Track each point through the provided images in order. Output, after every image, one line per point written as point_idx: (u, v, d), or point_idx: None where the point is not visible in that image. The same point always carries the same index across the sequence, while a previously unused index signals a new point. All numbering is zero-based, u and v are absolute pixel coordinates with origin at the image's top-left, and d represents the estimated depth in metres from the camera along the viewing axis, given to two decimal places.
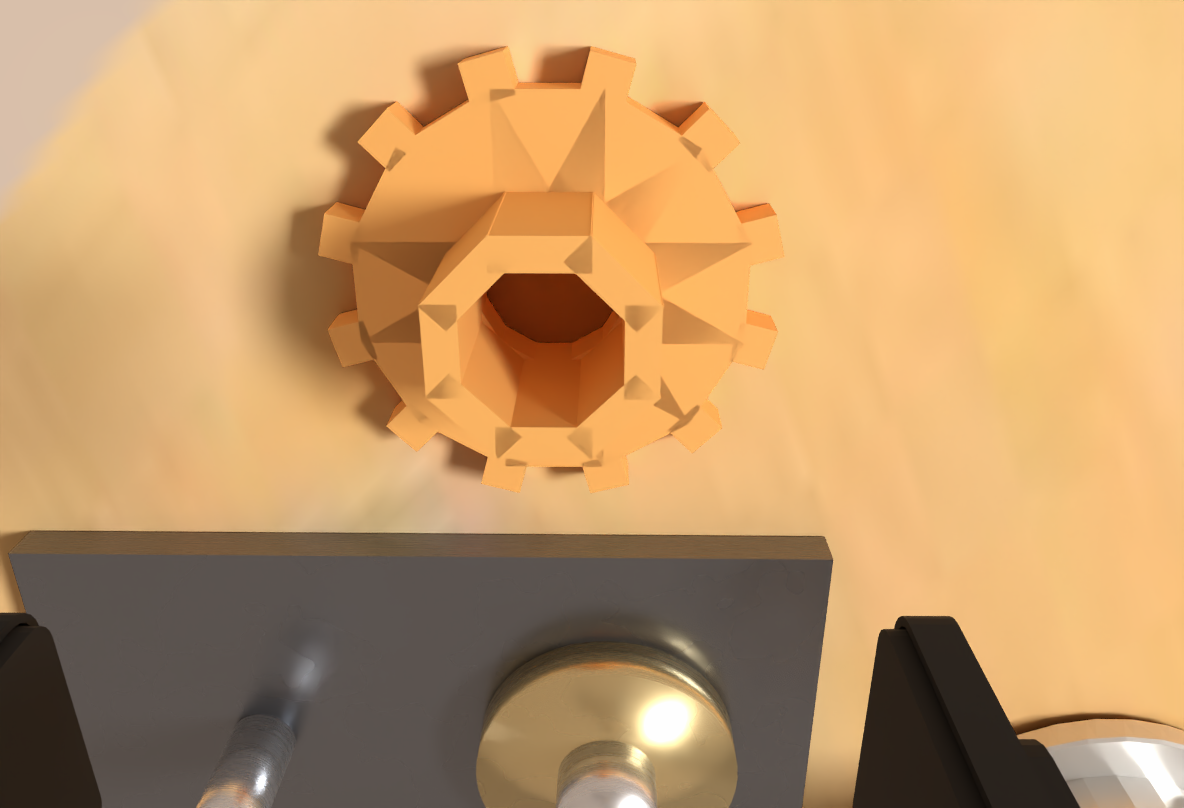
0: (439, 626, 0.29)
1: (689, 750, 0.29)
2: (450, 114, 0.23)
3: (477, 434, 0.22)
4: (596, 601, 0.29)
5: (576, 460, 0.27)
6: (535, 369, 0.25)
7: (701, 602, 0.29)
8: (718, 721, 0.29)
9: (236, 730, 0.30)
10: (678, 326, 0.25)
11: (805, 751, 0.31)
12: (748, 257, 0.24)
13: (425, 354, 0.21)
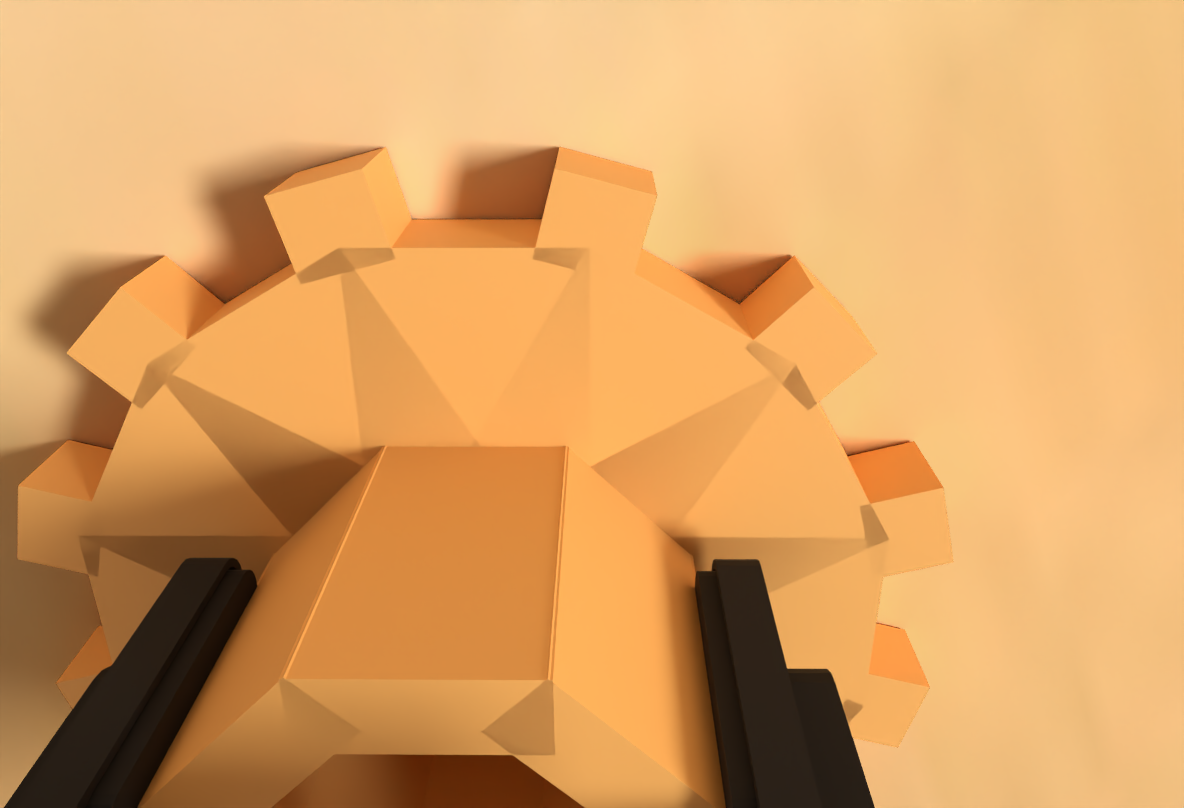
0: None
1: None
2: (257, 298, 0.11)
3: None
4: None
5: None
6: (457, 768, 0.13)
7: None
8: None
9: None
10: None
11: None
12: (880, 562, 0.12)
13: None
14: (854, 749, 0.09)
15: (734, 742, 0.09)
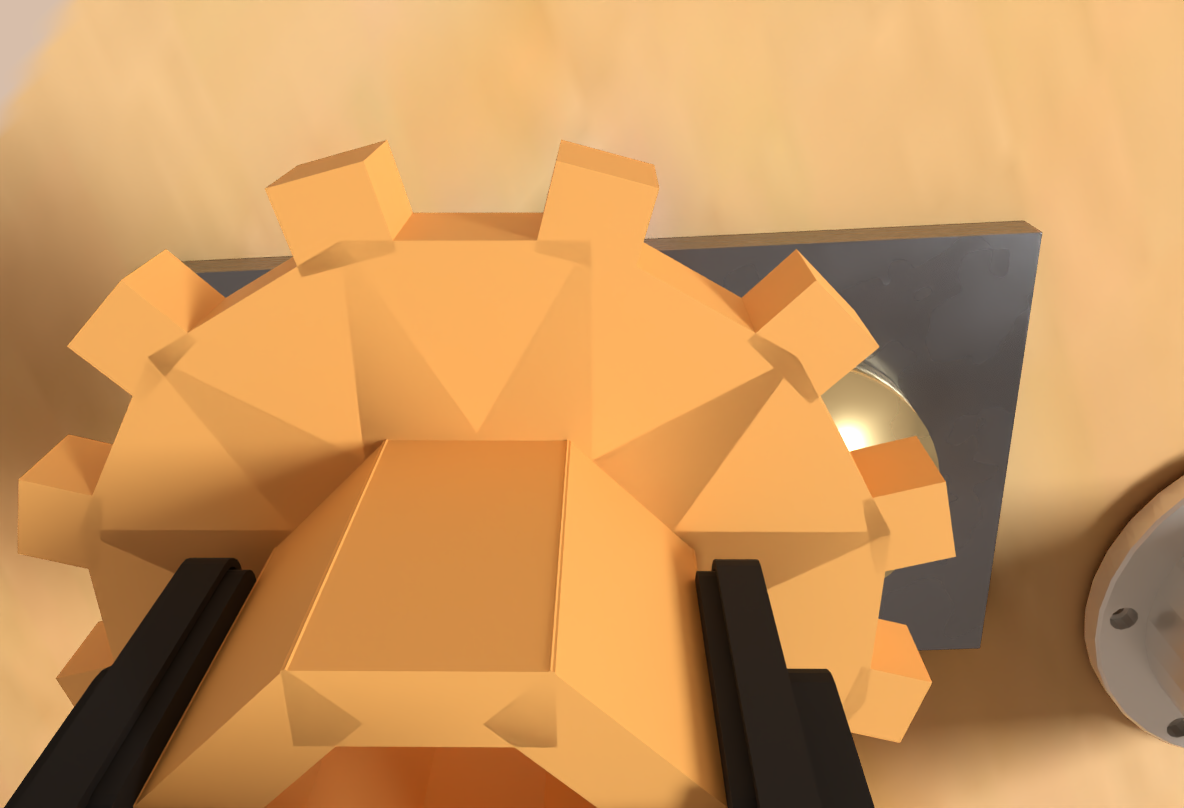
0: None
1: None
2: (258, 292, 0.11)
3: None
4: None
5: None
6: (458, 763, 0.13)
7: (897, 294, 0.27)
8: (921, 421, 0.27)
9: None
10: None
11: (1002, 472, 0.29)
12: (882, 557, 0.12)
13: None
14: (854, 749, 0.09)
15: (734, 742, 0.09)
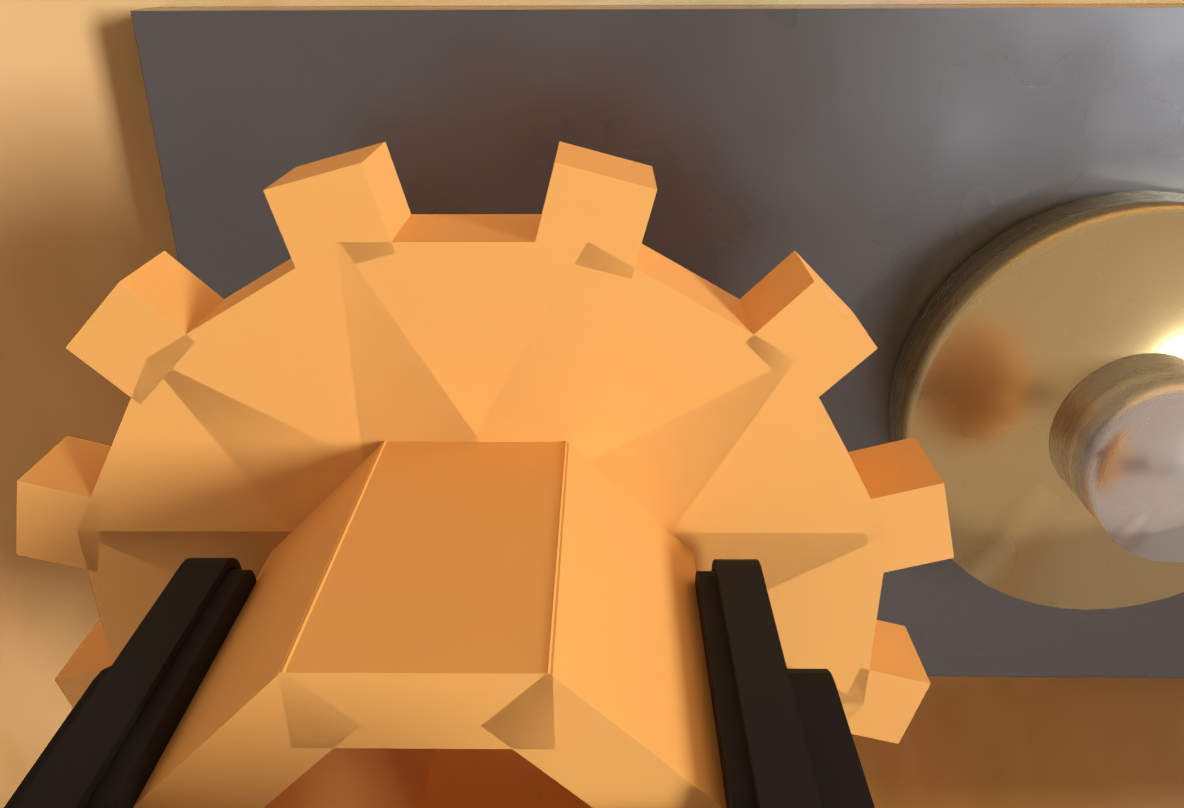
0: (861, 163, 0.17)
1: None
2: (257, 293, 0.11)
3: None
4: (1146, 105, 0.17)
5: None
6: (457, 764, 0.13)
7: None
8: None
9: None
10: None
11: None
12: (881, 558, 0.12)
13: None
14: (854, 749, 0.09)
15: (734, 742, 0.09)
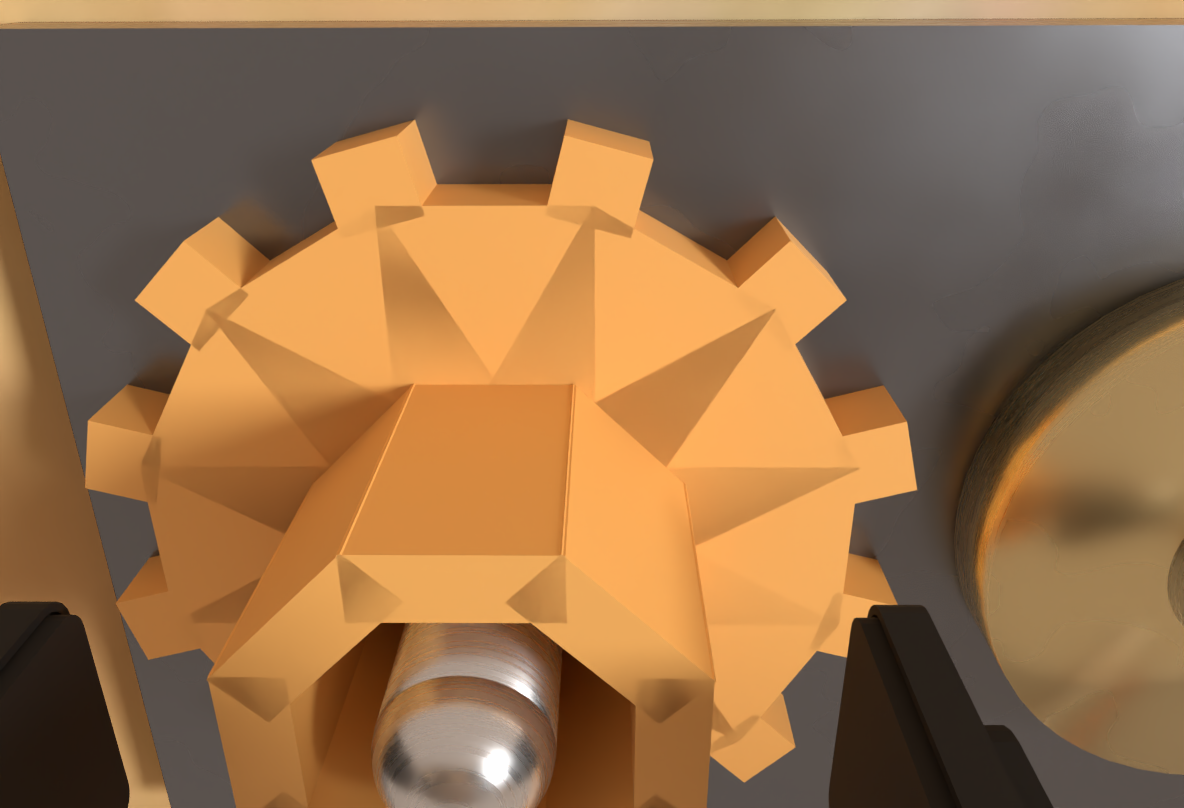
0: (931, 224, 0.13)
1: None
2: (304, 251, 0.12)
3: None
4: None
5: None
6: None
7: None
8: None
9: None
10: (724, 598, 0.14)
11: None
12: (852, 490, 0.13)
13: (232, 759, 0.10)
14: None
15: None
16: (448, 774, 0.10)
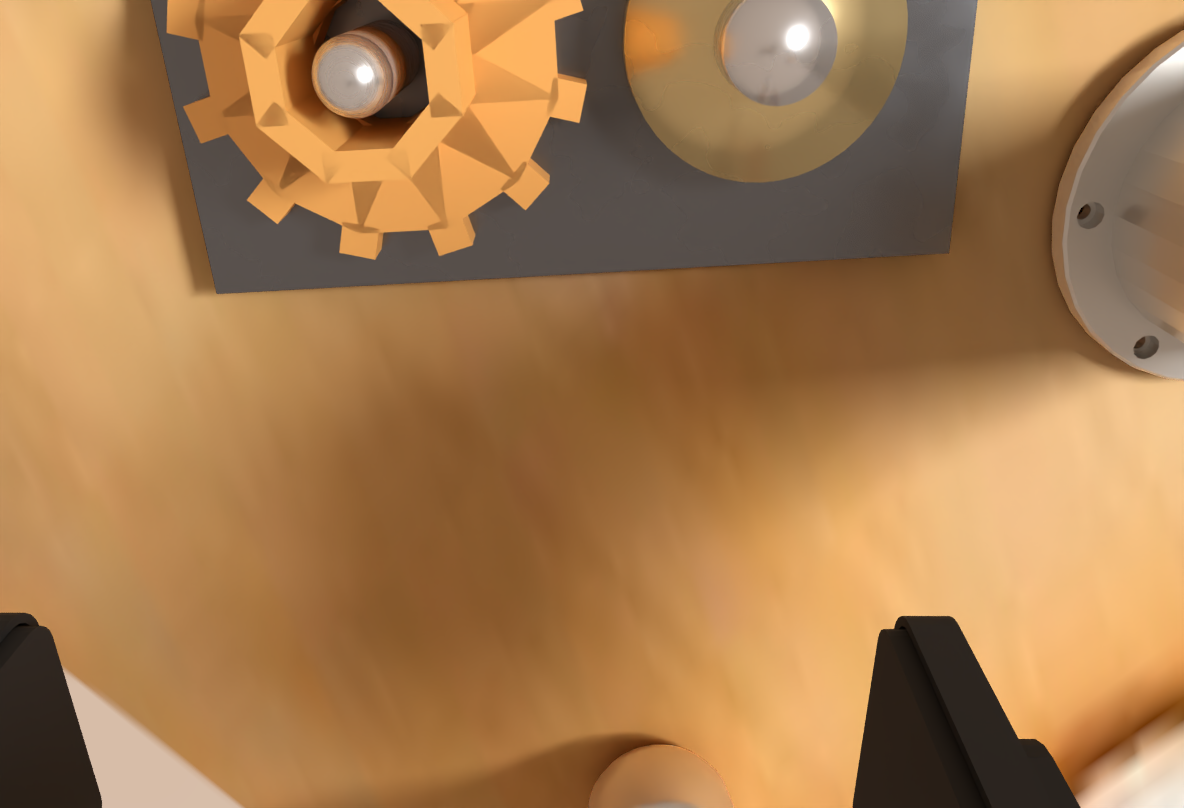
0: None
1: None
2: None
3: (306, 160, 0.25)
4: None
5: (422, 224, 0.30)
6: (371, 128, 0.28)
7: None
8: None
9: None
10: (497, 84, 0.28)
11: (969, 38, 0.29)
12: (551, 12, 0.27)
13: (250, 83, 0.24)
14: None
15: None
16: (341, 59, 0.23)
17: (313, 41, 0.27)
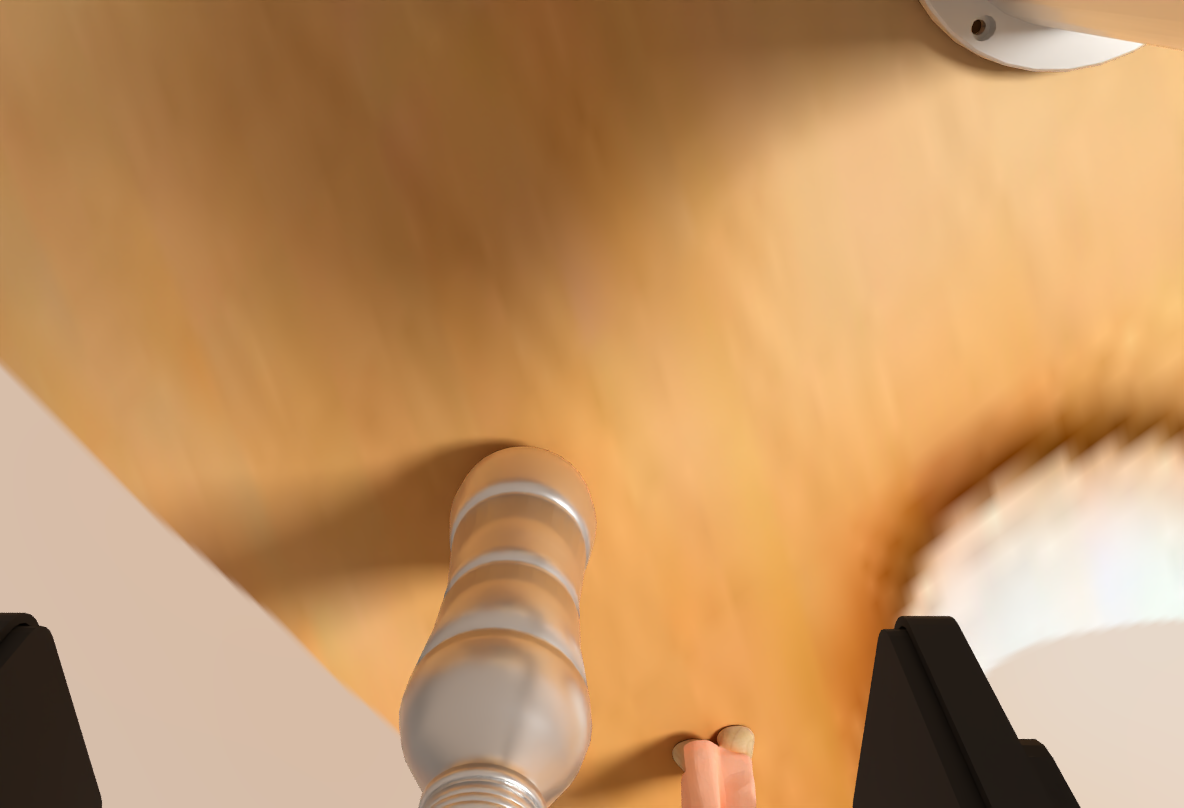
0: None
1: None
2: None
3: None
4: None
5: None
6: None
7: None
8: None
9: None
10: None
11: None
12: None
13: None
14: None
15: None
16: None
17: None
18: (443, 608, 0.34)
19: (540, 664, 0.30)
